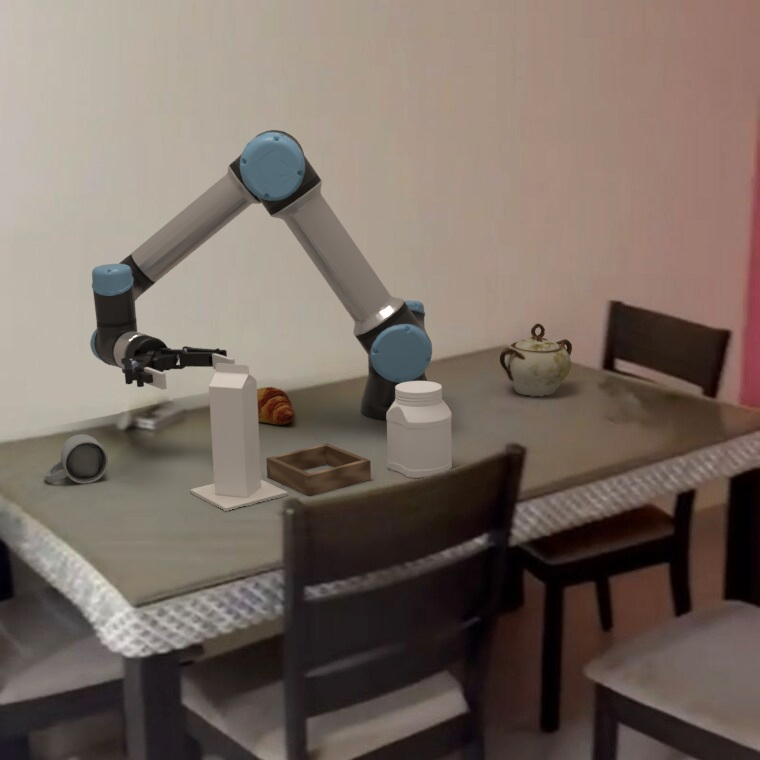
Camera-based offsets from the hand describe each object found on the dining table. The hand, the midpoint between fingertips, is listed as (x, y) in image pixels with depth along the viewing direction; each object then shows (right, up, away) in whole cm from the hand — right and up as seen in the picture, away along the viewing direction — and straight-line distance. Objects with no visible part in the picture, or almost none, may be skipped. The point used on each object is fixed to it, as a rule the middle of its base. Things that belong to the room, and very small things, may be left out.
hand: (199, 374), depth 216 cm
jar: (+38, -17, +7) cm, 42 cm away
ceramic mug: (-22, -19, +5) cm, 30 cm away
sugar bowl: (+65, -4, +56) cm, 86 cm away
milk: (+7, -20, -5) cm, 22 cm away
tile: (+7, -20, -5) cm, 22 cm away
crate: (+20, -18, +3) cm, 27 cm away
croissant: (+8, -9, +42) cm, 43 cm away
